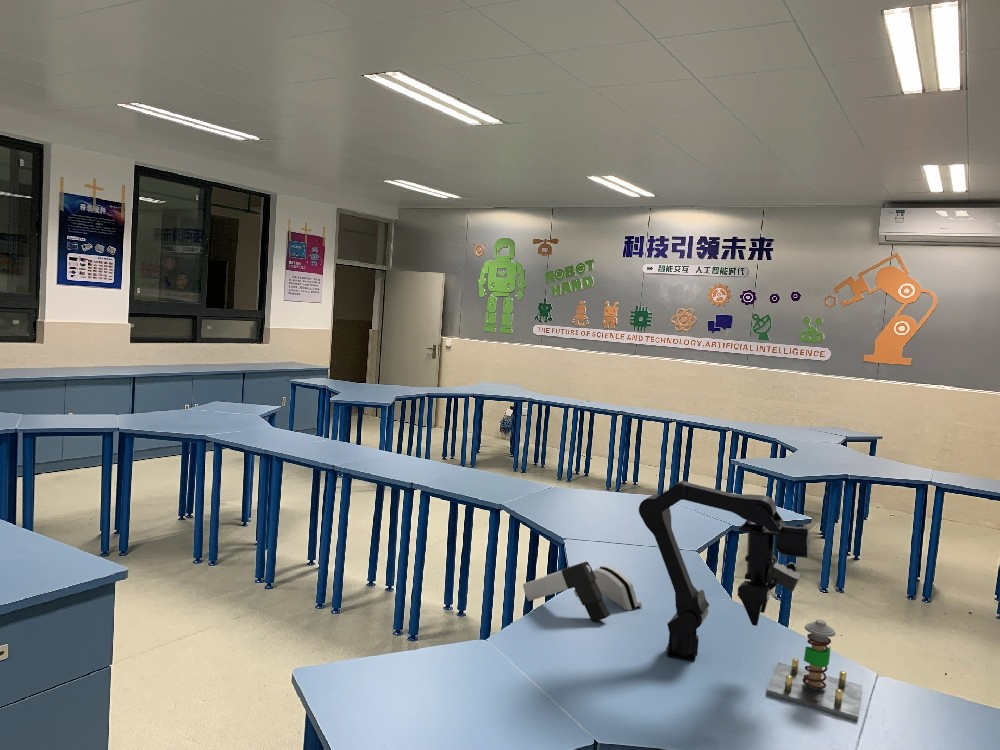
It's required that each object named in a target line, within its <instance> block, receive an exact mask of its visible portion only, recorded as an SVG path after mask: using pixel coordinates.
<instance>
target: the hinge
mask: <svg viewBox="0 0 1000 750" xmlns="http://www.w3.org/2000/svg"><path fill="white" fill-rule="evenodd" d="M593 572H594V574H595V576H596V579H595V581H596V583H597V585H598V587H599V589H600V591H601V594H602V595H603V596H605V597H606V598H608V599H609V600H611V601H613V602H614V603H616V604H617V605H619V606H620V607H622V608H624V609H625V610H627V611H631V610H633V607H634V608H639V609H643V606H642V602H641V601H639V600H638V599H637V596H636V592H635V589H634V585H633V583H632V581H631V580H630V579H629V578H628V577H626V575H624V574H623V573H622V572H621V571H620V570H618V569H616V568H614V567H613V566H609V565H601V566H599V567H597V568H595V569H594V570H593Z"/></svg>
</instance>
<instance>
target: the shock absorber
mask: <svg viewBox="0 0 1000 750" xmlns="http://www.w3.org/2000/svg"><path fill="white" fill-rule="evenodd" d="M804 629H805V631H807V632H808V634H807V636H806V637H807V643H808V644H809V645H811V646H805V648H804V649H805V650H804V657H803V661H804V662H805V663H807V664H809V665H805V666H804V670H807V671H809V675H807V674H806V675H804V678H803V682H804V683H805V684H806V685H807V686H808V687H810V688H811V689H815V690H818V689H823V688H825V687H826V684H825V682H823V681H824V680H826V676H827V674H826V672H827V671H828V665H829V664H830V659H831V657H830V656H831V646H829V645H830V644H831V643H832V639H831V637H835V636H836V635H837V633H836V631H835V629H833V628H832V627H831V626H829V625H828V624H827V622H826V621H825V620H823V619H816V620H815V621H813V622H808V623H806V624H805V625H804ZM823 668H824V669H823ZM822 674H823V675H824V678H823V679H821V676H822Z"/></svg>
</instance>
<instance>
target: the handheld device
mask: <svg viewBox="0 0 1000 750" xmlns="http://www.w3.org/2000/svg"><path fill="white" fill-rule="evenodd" d="M593 571H594V570H593V569H592V567H591V565H590V563H589V562H588V561H584V562H580V563H577V564H574V565H571V566H568V567H565V568H563V569H561V570H558V571H556V572H552V573H550V574H547V575H545V576H543V577H539V578H536V579H534V580H530V581H527V582H525V583H523V585H522V587H523V591H524V595H525V598H526V599H527V601H528V602H531V601H534V600H537V599H540V598H544V597H547V596H550V595H554V594H557V593H559V592H563V591H567V590H570V589H574V590H573V593H574V595H575V597H576V598H578V599H579V601H580V602H581V605H582V606H584V608H585V609H586V610H585V611H586V612H587V615H588V616H589V618H590V621H591V622H597V621H601V620H604V619H607V618H609V617H610V616H611V613H610V611H609V610H608V608H607V605H606V604H605V601H604V595H603V594H602V593H601V591H600V589H599V587H598V585H597V583H596V581H595V579H596V576H595V574H594V572H593Z"/></svg>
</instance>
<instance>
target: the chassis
mask: <svg viewBox="0 0 1000 750" xmlns="http://www.w3.org/2000/svg"><path fill="white" fill-rule="evenodd" d="M799 662H800V660H799V659H798V658H796V657H794V658H792V659H791V665H790V664H786V663H782V662H777V663H776V667H775V669H774V672H773V673H772V676H771V679H770V681H769V683H768V685H767V688H766V690H765V691H766V692H765V695H766V696H769V697H772V698H775V699H778V700H782V701H784V702H788V703H792V704H795V705H799V706H802V707H805V708H810V709H812V710H815V711H818V712H823V713H825V714H829V715H831V716H835V717H838V718H842V719H846V720H850V721H853V722H856V723H857V722H858V721H859V720H858V718H859V711H860V706H861V700H862V699H861V698H862V691H863V685H862V684H858V683H855V682H851V681H848V680H847V672H846V671H843V670H840V671H839V676H838V678H837V677H834V676H833V677H832V676H829V675H826V680H824V681H823V682H825V684H826V687H825V688H823V689H818V690H815V689H811V688H810V687H808V686H807V685H806V684H805V683H804V682H803V678H804V675H806V674H807V675H809V671H807V670H806V669H805V668H800V667H799ZM823 678H824V675H823V674H822V676H821V679H823Z"/></svg>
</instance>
